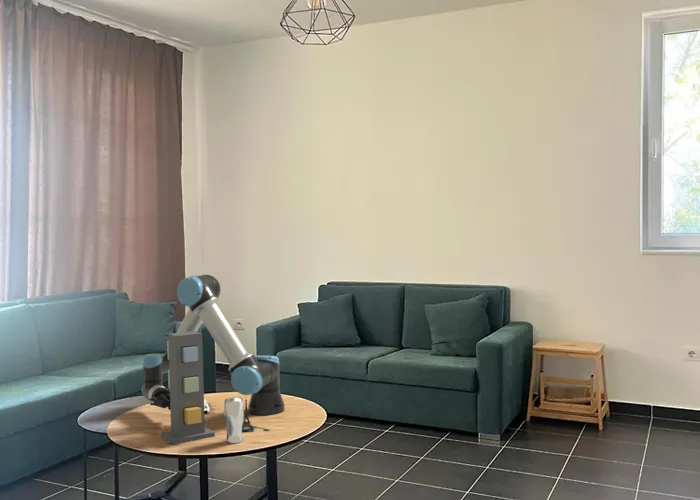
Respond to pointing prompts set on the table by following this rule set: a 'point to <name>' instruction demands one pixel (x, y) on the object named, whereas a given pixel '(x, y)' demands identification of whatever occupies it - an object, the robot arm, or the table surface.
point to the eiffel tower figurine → (247, 425)
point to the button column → (177, 396)
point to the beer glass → (234, 419)
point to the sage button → (188, 383)
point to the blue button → (187, 353)
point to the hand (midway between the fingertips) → (178, 407)
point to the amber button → (192, 415)
